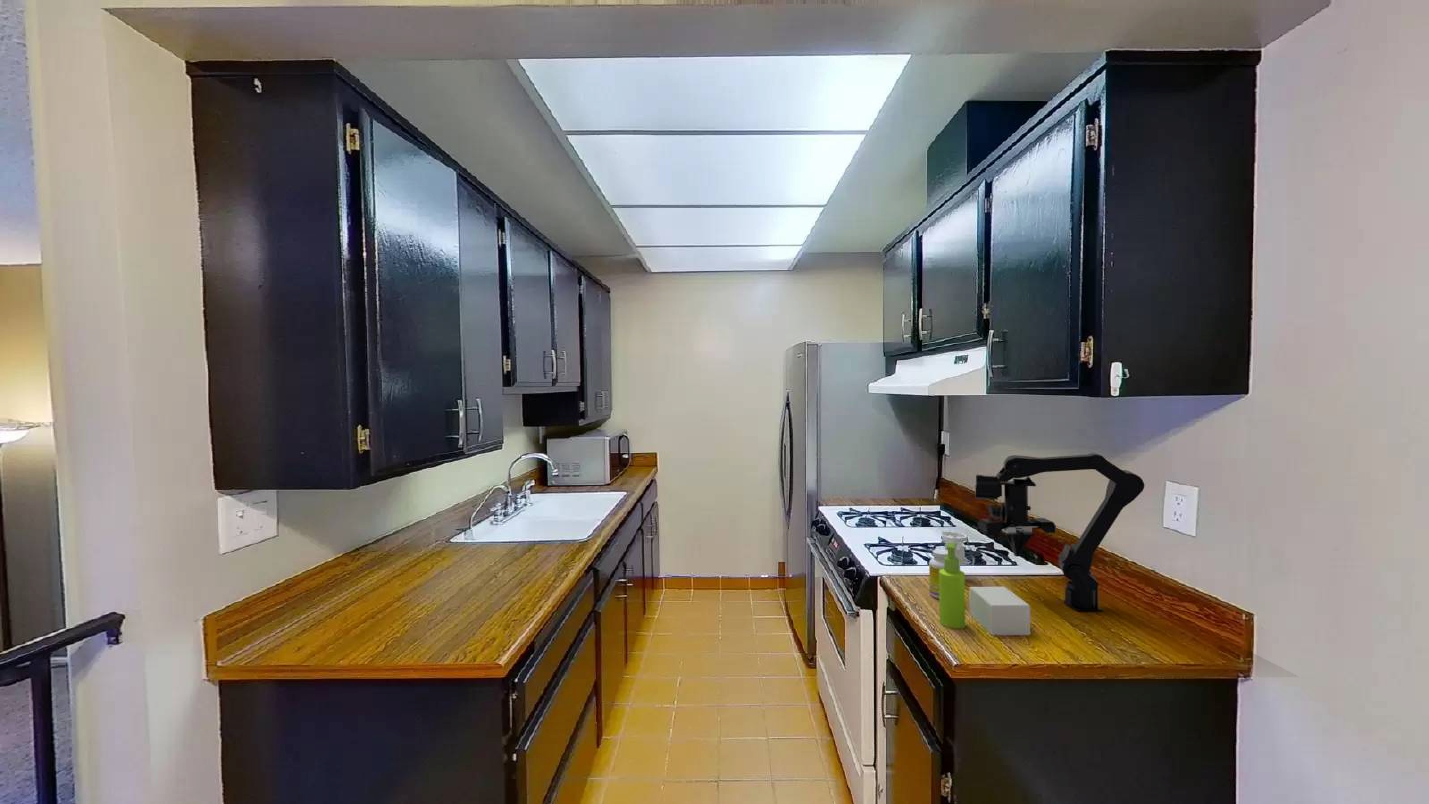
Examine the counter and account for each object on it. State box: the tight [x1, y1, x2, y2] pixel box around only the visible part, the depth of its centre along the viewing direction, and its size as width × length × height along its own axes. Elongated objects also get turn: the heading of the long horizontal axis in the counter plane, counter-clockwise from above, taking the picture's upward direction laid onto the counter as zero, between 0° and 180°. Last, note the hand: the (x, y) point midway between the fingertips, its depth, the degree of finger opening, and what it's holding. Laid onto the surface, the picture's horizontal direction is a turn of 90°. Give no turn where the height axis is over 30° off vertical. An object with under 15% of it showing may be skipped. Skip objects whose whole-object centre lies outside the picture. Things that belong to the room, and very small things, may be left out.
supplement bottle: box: [928, 548, 948, 600], centre depth 149 cm, size 7×7×13 cm
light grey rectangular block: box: [968, 586, 1031, 636], centre depth 131 cm, size 9×12×7 cm
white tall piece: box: [941, 529, 968, 571], centre depth 162 cm, size 7×7×15 cm
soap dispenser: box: [938, 542, 966, 629], centre depth 132 cm, size 6×7×20 cm
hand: (1016, 556), depth 146 cm, fingers closed
